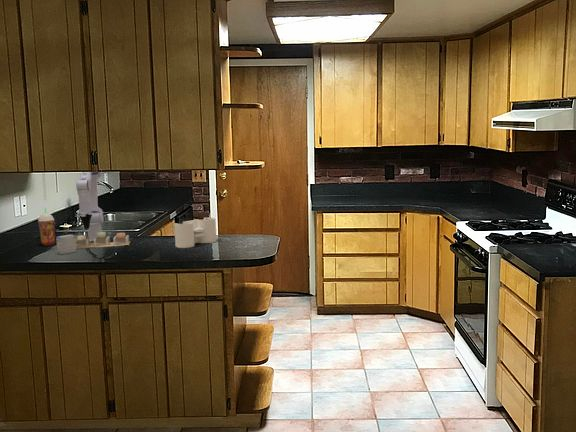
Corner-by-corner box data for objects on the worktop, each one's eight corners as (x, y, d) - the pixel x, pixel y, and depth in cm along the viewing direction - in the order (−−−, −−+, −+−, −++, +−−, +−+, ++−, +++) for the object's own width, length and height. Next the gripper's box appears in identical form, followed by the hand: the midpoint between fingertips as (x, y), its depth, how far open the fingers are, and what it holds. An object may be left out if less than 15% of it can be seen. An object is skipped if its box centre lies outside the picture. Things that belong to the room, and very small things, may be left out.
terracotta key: (117, 240, 329) (116, 233, 328) (126, 239, 329) (125, 232, 329) (116, 241, 324) (116, 234, 324) (125, 241, 325) (124, 233, 324)
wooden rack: (76, 245, 329) (75, 237, 329) (130, 241, 334) (129, 234, 333) (72, 249, 317) (71, 241, 317) (128, 245, 322) (127, 238, 321)
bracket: (186, 248, 308) (185, 224, 306) (173, 247, 313) (171, 223, 312) (220, 240, 327) (219, 218, 326) (207, 239, 333) (206, 217, 332)
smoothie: (37, 245, 334) (34, 208, 332) (52, 242, 340) (48, 206, 338) (44, 246, 329) (41, 209, 326) (59, 244, 335) (56, 207, 332)
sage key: (98, 239, 327) (97, 231, 326) (106, 238, 328) (105, 231, 327) (96, 240, 323) (96, 233, 322) (105, 240, 323) (104, 232, 323)
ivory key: (78, 242, 325) (78, 235, 325) (87, 242, 326) (86, 234, 326) (77, 244, 321) (76, 236, 321) (85, 243, 322) (85, 236, 321)
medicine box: (71, 251, 312) (70, 234, 311) (76, 252, 309) (75, 235, 308) (57, 253, 306) (55, 236, 305) (62, 254, 303) (60, 237, 302)
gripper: (79, 201, 328) (81, 227, 330) (74, 204, 314) (76, 231, 315) (93, 201, 329) (95, 226, 331) (88, 204, 315) (90, 230, 316)
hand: (86, 228), depth 323 cm, fingers closed
